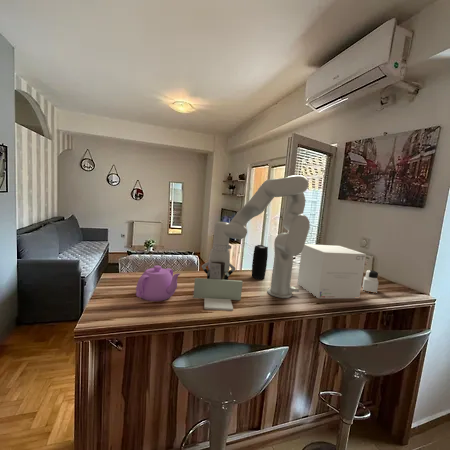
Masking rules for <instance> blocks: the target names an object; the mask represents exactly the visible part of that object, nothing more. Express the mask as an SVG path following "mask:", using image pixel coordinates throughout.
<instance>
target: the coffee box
mask: <svg viewBox="0 0 450 450" xmlns="http://www.w3.org/2000/svg"><path fill="white" fill-rule="evenodd" d="M224 270H225V263H223V262H211V268H210V278H209V279H220V280H225V275H226V273H225V271H224Z"/></svg>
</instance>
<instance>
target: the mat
mask: <svg viewBox="0 0 450 450" xmlns="http://www.w3.org/2000/svg"><path fill="white" fill-rule="evenodd" d="M203 303H204V304H203V306H204V310H214V311H215V310H216V311H234V306H233V303H232V300H231V299H215V298H203Z"/></svg>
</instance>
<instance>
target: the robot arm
mask: <svg viewBox="0 0 450 450" xmlns="http://www.w3.org/2000/svg"><path fill="white" fill-rule="evenodd" d="M308 187H309V180H308V179H307V177H305V176H304V175H299V174H298V175H289V176H287V177H280V178H270V179H266V180H264V182H263V183H261V185H260V187H259V188H258V189H257V191H256V192H254V194H253V195H252V197H251V198H250V199H249V201H248V202H247V203H245V205H244V206H243V207H242V208H241V209H239V210H238V212H236V214H235V215H234V216H233V217H232V219H231V220H230V221H229V222H226V221H216V222H215V223H214V227H213V228H214V229H213V237H212V238H213V240H212V248H211V249H210V251H209V255H208V261H207V262H205V263H204V264H202V265H201V268H202V270H203V271H204V273H205V274H206V275H207V276H206V279H209V278H210V268H211V262H223V263H225V270H224V271H225V273H226V275H225V280H229V278H230V275H232V274H233V272H235V270H236V267H235V266H234V265H233V264H231V262H230V261H231V260H230V259H231V257H230V256H231V255H230V254H231V253H230V250H231V249H232V245H229V244H230V239H233V240H234V239H235V240H242V239H244V238H246V236H247V235H248V228H247V227H246V225H247V224H248V223H249V222H250V220H252V219H253V218H255V217H257V216H259V215H261V214H262V213H264V211H265V209H267V207H268V206H269V204H270V203H271V202H272V201H273V200H274V198H281V197H287V205H286V209H285V211H284V216H283V219H282V227H283V228H284V229H285V230H286V231H288V232H281V233H279V234H277V236H276V237H275V239H274V242H273V243H274V245H273V246H274V248H273V249H274V252H273V253H274V257H273V265H272V273H271V274H272V275H271V283H270V287H269V288H267V290H266V291H267V293H268V295H270V296H272V297H276V298H281V299H289V298H292V297H293V292H295V293H299V292H300V289H299V288H300V287H295V286H291V281H292V273H293V265H294V257H296V256H298V255H301V252H302V250H303V248H304V245H305V244H306V241H307V239H308V235H309V231H310V226H311V224H310V220H309V218H308V216H307V215H306V214H304V211H305V208H306V207H305V206H306V197H305V196H306V195H305V194H304V193H305V192H306V191H307V190H308ZM206 267H207V268H208V269H207V268H206ZM230 268H231V269H230Z"/></svg>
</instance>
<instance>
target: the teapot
mask: <svg viewBox="0 0 450 450" xmlns="http://www.w3.org/2000/svg"><path fill="white" fill-rule="evenodd" d="M180 275H181V273H174V270H173V269H172V268H169V267H167V268H162V266H161V265H158V264H157V265H154V266H153V267H151V268H150V267H149V268H147V269H146V270H145V271H144V272H143V273H142V274H141V276H140V277H139V279H138V280H137V284H136V287H135V292H136V293H135V296H136V297H137V298H141V299H142V300H145V301H148V302H149V301H150V302H161V301H164V300H165V301H166V300H167V299H170V298H171V297H173V295H174V294H175V293H176V291H177V288H178V277H179V276H180Z"/></svg>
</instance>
